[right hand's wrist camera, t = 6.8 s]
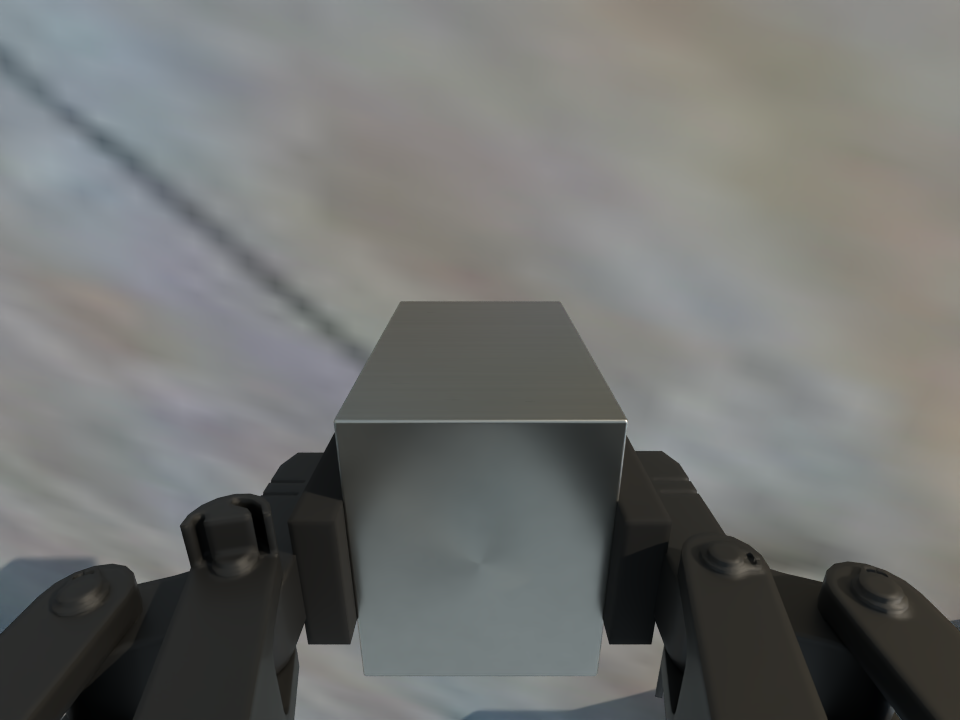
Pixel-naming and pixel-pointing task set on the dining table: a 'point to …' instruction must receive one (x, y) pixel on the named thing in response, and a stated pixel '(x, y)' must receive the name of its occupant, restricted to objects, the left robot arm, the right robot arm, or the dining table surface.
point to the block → (480, 492)
